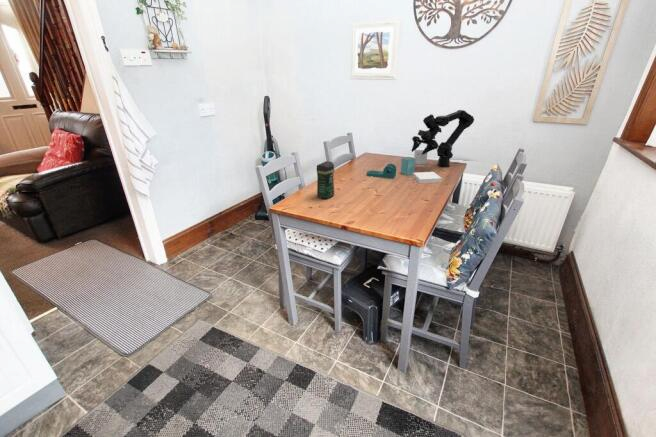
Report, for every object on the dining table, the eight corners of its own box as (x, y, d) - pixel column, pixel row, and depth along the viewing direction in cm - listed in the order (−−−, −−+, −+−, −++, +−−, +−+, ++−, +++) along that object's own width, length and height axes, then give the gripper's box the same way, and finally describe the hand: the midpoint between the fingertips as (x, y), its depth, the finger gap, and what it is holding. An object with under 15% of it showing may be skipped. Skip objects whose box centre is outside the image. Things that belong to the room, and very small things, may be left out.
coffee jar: (327, 200, 158) (326, 165, 150) (315, 197, 161) (313, 163, 153) (336, 194, 165) (336, 161, 157) (324, 192, 169) (323, 159, 161)
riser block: (432, 176, 191) (433, 171, 189) (441, 183, 179) (441, 178, 178) (412, 177, 190) (413, 172, 189) (419, 184, 178) (420, 179, 177)
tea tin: (407, 171, 199) (409, 156, 195) (414, 174, 195) (415, 158, 190) (400, 173, 197) (401, 158, 192) (406, 175, 192) (408, 160, 188)
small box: (424, 162, 218) (426, 148, 214) (426, 164, 213) (428, 149, 209) (413, 162, 219) (414, 148, 215) (414, 164, 214) (416, 149, 210)
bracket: (395, 175, 193) (396, 163, 189) (393, 179, 187) (394, 166, 184) (368, 173, 199) (368, 161, 196) (365, 176, 193) (365, 164, 190)
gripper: (415, 123, 196) (401, 142, 196) (437, 126, 181) (422, 147, 181) (423, 134, 202) (409, 152, 202) (445, 138, 187) (430, 158, 188)
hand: (417, 152), depth 193 cm, fingers open, 9 cm apart
